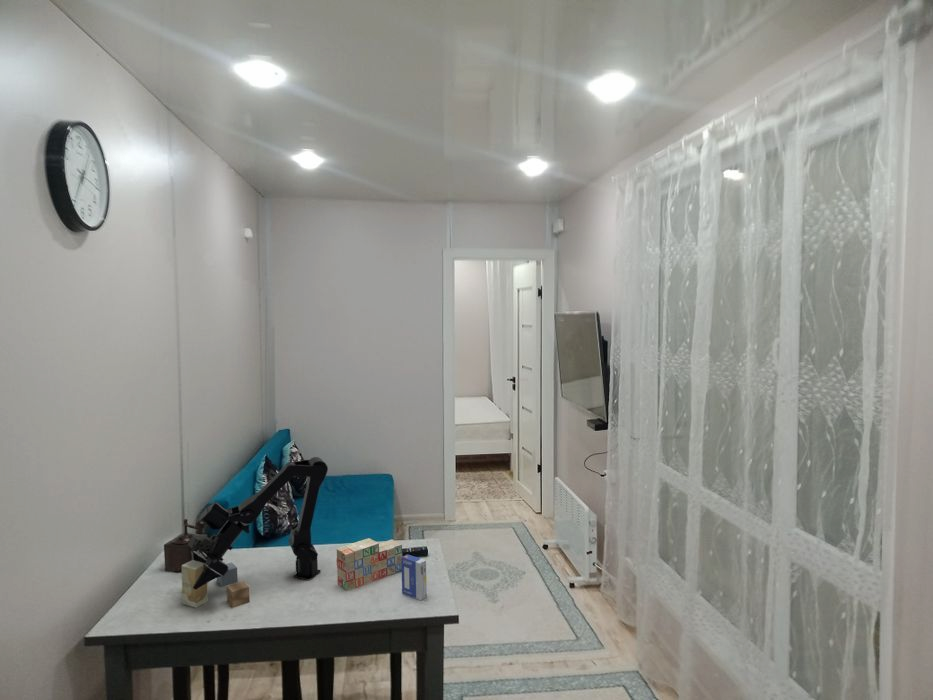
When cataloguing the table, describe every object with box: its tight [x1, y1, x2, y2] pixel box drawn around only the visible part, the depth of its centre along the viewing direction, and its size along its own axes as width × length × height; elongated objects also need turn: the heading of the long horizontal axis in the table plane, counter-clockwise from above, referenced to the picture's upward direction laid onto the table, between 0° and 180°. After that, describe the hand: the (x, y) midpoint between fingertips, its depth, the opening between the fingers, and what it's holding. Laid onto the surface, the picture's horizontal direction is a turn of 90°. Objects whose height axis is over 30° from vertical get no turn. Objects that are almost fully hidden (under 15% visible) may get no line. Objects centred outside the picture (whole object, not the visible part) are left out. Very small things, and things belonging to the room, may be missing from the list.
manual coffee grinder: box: [163, 518, 209, 573], centre depth 198 cm, size 16×11×18 cm
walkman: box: [401, 553, 428, 601], centre depth 176 cm, size 8×3×12 cm, turn 54°
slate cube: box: [216, 561, 239, 588], centre depth 187 cm, size 5×5×5 cm
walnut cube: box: [226, 580, 250, 609], centre depth 174 cm, size 5×5×5 cm
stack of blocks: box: [336, 537, 403, 592], centre depth 188 cm, size 21×6×12 cm, turn 130°
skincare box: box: [181, 560, 208, 609], centre depth 173 cm, size 6×4×12 cm
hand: (189, 583), depth 172 cm, fingers open, 9 cm apart
